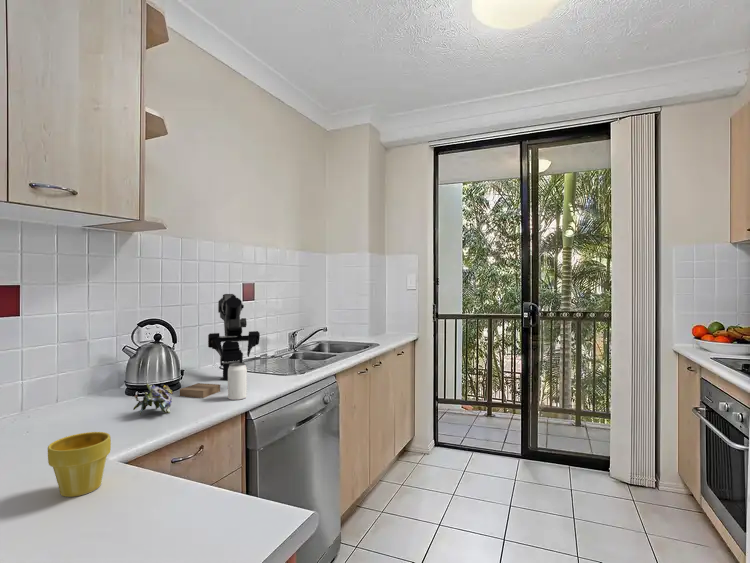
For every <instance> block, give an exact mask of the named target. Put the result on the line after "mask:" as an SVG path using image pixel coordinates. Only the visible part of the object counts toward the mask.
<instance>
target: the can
mask: <svg viewBox="0 0 750 563" xmlns="http://www.w3.org/2000/svg"><path fill="white" fill-rule="evenodd" d="M247 369H248V368H247V366H246V363H245V362H242V363H233V364H229V368H228V380H227V398H228V399H229V400H230V401H241V400H244V399H246V398H247V397H248V372H247Z"/></svg>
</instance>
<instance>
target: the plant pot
mask: <svg viewBox="0 0 750 563" xmlns="http://www.w3.org/2000/svg"><path fill="white" fill-rule="evenodd" d="M111 438H112V437H111V435H110V434H109V433H107V432H103V431H91V432H90V431H88V432H82V433H77V434H72V435H68V436H65V437H62V438H58V439H57V440H54V441H53V442H51V443H50V444H49V445H47V446H48V447H47V462H48V466H50V467H51V468H52V469H53V472H54V475H55V479H56V484H57V486H58V490H59V493H60V496H61V497H64V498H74V497H81V496H84V495H87V494H90V493H92V492H95V491H96V490H97V489H99V488H100V487H101V485H102V480H103V477H104V471H105V466H106V461H107V457H108V456H109V454H110V453H111V451H112V450H111V448H112V447H111V445H112V443H111Z"/></svg>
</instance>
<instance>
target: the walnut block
mask: <svg viewBox="0 0 750 563" xmlns="http://www.w3.org/2000/svg"><path fill="white" fill-rule="evenodd" d="M219 392H221V384H217V383H202V382H197V383H194V384H191V385H189V386H186V387H183V388H179V397H180V396H185V397H184V398H197V399H198V398H199V399H205V398H208V397H210V396H212V395H215V394H216V393H219Z"/></svg>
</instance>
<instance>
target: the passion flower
mask: <svg viewBox="0 0 750 563" xmlns="http://www.w3.org/2000/svg"><path fill="white" fill-rule="evenodd" d="M145 386H146V387H147V389H148V391H149V393H148V392H144V396H142V397H143V399H142V400H140V399H139V398H138V395H137V394H136V395H134V399H136V402H137V404H135V406H134V407H133V411H135V410H136V409H137V408H139V407H140V413H139V416H141V415H142V413H143V412H144V410H146V408H148V406H149V407H152V406H153V405H154V407H155V410H157V409H159V408H160V410H161V411H162V413H164V414H170V413H171V409H170V408H171V406H172V402H173V401H172V396H170V394H171V395H174V392H173V390H172V389H170V387H169V385H168V384H166V385H165V384H164V385H163V387H160V386H156V385H155V384H151V385H150V384H149V383H146V385H145Z"/></svg>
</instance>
